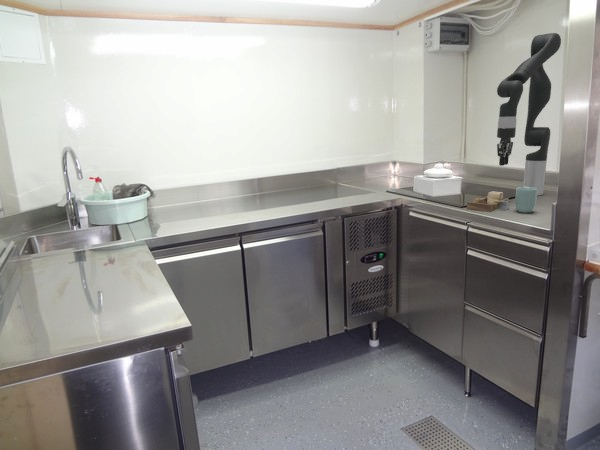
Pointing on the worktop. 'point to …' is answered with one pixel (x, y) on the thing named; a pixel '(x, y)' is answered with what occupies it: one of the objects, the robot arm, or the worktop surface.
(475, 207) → the beam rails
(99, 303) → the worktop surface
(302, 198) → the worktop surface
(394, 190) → the worktop surface
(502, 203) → the block
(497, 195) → the block
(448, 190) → the butter dish
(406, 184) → the worktop surface
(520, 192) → the cup
